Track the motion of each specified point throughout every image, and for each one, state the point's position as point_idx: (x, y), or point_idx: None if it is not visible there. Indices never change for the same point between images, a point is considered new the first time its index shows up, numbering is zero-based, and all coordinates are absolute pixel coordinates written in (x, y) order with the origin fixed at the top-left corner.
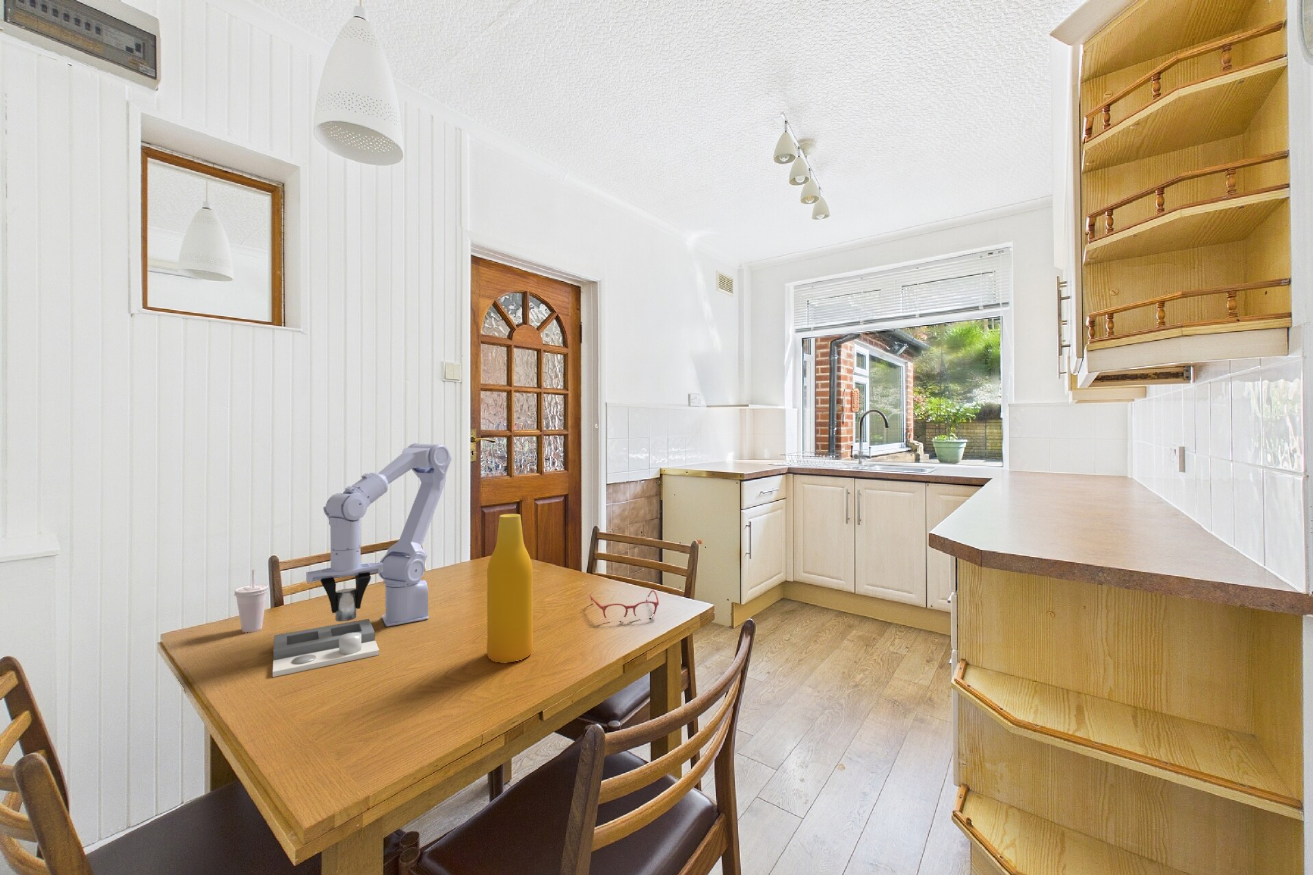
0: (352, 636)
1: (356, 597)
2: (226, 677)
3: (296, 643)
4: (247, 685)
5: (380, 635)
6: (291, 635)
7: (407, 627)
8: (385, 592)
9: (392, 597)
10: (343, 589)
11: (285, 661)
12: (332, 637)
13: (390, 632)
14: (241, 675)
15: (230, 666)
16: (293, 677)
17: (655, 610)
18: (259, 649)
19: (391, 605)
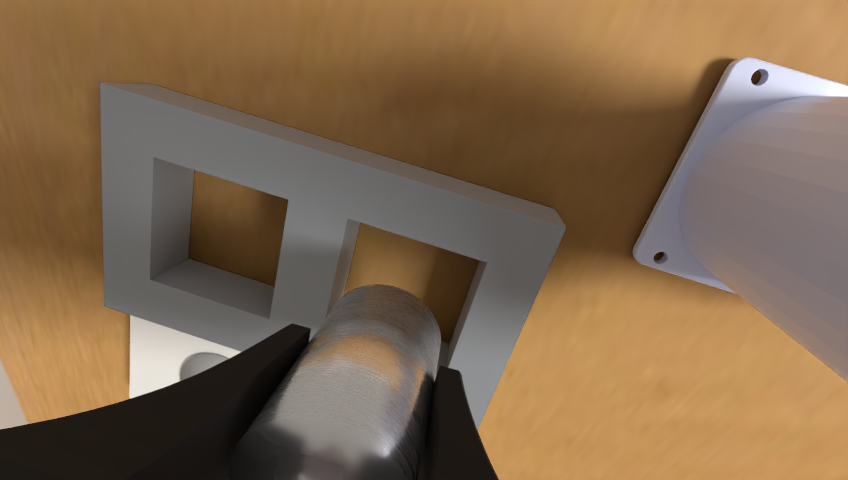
0: None
1: (427, 444)
2: (23, 277)
3: (184, 293)
4: (85, 383)
5: (544, 328)
6: (173, 161)
7: (690, 335)
8: (831, 224)
9: (788, 321)
10: (316, 434)
11: (165, 349)
12: None
13: (595, 330)
14: (62, 298)
15: (17, 183)
16: None
17: None
18: (95, 62)
19: (741, 279)
